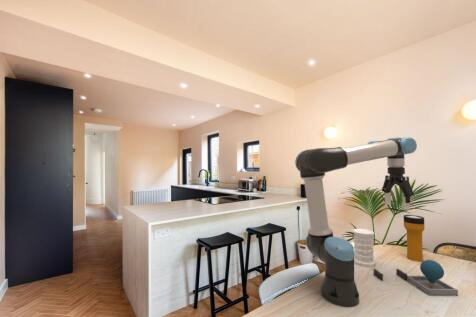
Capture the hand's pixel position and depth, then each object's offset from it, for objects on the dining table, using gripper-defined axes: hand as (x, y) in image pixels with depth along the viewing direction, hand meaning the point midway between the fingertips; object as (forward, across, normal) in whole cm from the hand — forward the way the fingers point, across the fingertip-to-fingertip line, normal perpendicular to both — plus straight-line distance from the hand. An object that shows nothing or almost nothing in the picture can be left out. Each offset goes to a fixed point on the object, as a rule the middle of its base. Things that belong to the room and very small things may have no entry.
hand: (396, 207), depth 118 cm
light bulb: (+34, -14, -6) cm, 37 cm away
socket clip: (+35, -4, +7) cm, 36 cm away
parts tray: (+35, -14, -6) cm, 38 cm away
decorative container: (+35, +14, +10) cm, 39 cm away
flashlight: (+35, +19, -24) cm, 46 cm away
